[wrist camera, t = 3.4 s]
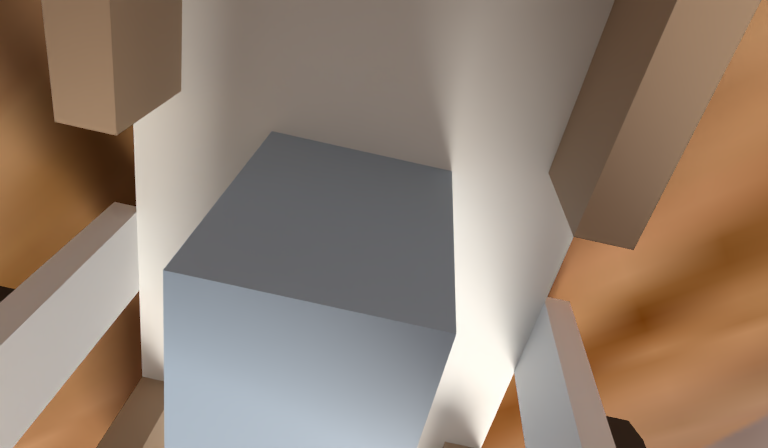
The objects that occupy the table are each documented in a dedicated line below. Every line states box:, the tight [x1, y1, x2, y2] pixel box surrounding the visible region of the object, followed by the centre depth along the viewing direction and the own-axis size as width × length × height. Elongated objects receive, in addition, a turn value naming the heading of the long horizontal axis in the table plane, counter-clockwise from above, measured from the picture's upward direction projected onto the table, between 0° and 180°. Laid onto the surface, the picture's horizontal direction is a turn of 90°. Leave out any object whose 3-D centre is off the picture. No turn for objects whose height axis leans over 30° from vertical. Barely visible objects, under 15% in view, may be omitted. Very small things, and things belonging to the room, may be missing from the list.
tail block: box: [163, 131, 456, 448], centre depth 13 cm, size 9×4×6 cm, turn 169°
